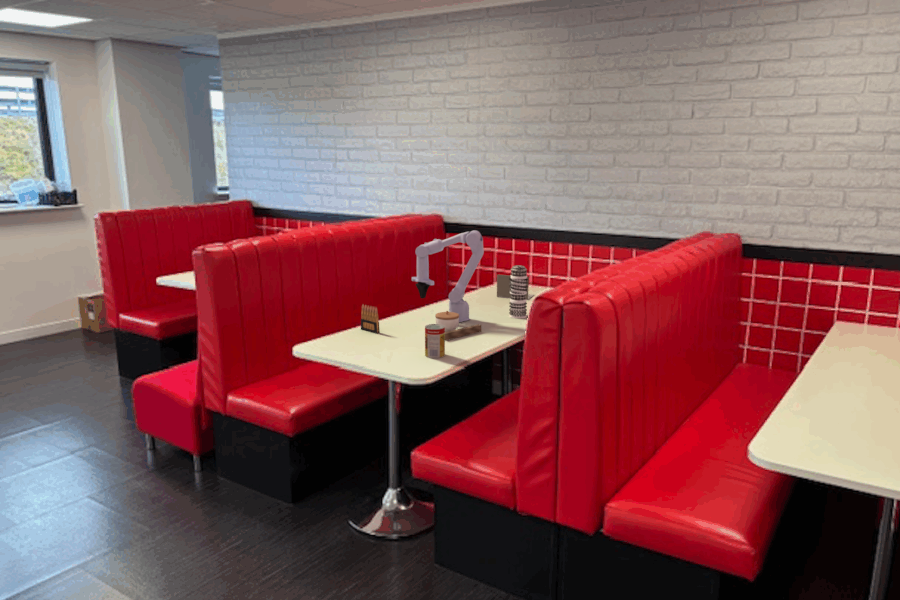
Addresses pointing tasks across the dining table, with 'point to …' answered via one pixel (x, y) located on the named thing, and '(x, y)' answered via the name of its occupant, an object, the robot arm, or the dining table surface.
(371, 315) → the ammunition clip
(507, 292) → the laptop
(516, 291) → the decorative candle
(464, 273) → the robot arm
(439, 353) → the canned food
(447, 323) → the lidded jar
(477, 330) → the walnut rail
